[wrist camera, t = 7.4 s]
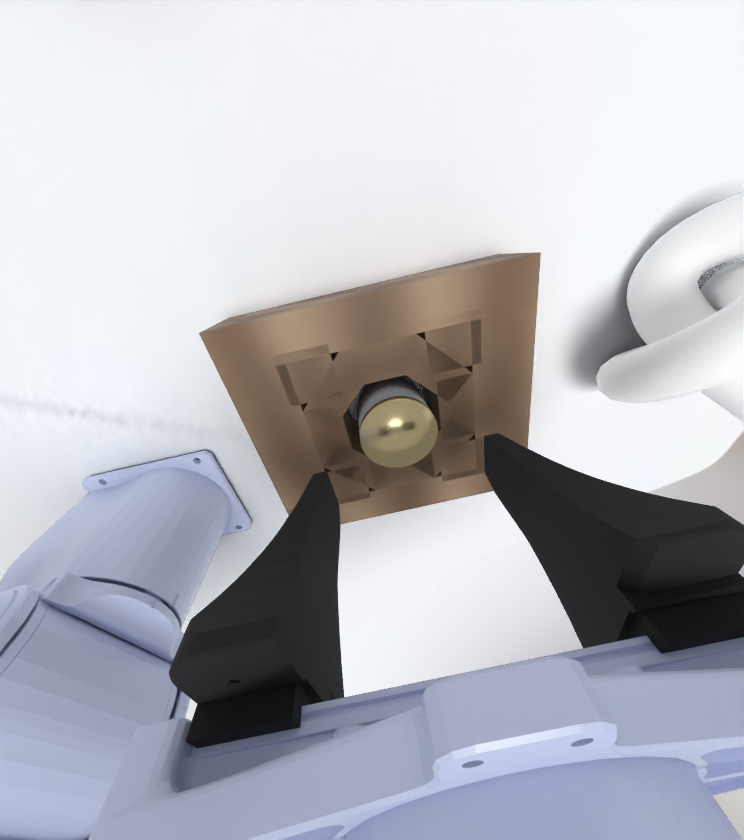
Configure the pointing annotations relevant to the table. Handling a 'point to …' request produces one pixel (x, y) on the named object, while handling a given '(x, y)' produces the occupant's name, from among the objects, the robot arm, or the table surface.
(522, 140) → the table surface
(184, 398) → the table surface
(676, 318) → the white knot sculpture
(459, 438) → the jig
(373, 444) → the brass capped cylinder
